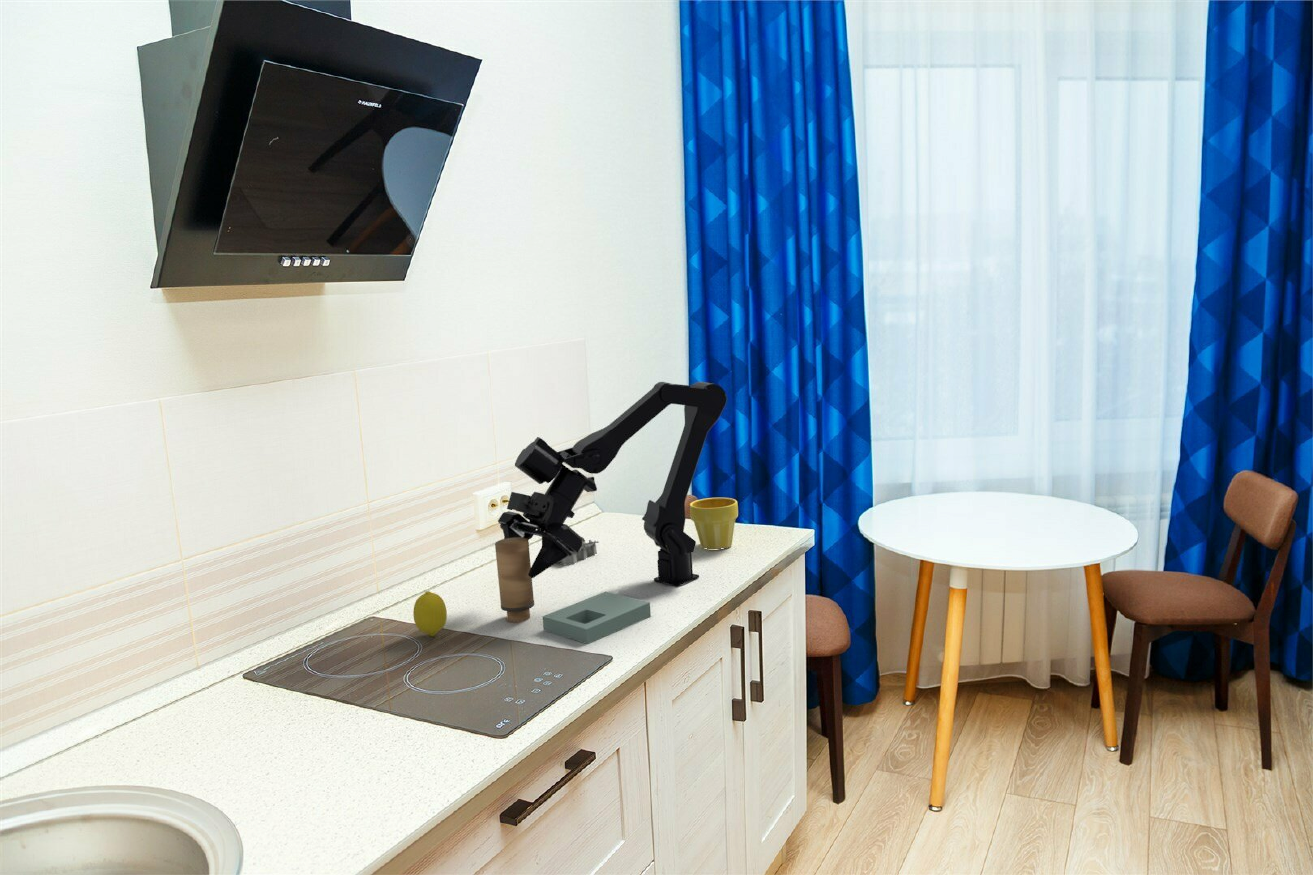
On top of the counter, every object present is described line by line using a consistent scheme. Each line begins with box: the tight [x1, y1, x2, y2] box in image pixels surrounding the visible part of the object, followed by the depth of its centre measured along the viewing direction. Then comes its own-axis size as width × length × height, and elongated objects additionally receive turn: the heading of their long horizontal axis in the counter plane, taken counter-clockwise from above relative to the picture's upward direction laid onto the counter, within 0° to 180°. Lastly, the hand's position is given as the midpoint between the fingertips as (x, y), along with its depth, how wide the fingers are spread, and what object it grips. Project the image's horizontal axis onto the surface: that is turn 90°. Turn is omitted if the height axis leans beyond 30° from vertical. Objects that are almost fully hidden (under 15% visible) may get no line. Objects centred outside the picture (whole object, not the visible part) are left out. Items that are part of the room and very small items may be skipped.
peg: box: [494, 537, 535, 623], centre depth 166 cm, size 6×6×14 cm
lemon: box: [412, 590, 448, 637], centre depth 161 cm, size 6×6×8 cm
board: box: [541, 591, 652, 645], centre depth 162 cm, size 15×11×2 cm
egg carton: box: [558, 536, 600, 566], centre depth 203 cm, size 11×8×4 cm
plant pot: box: [689, 497, 739, 549], centre depth 203 cm, size 10×10×10 cm
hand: (514, 572), depth 166 cm, fingers open, 9 cm apart
